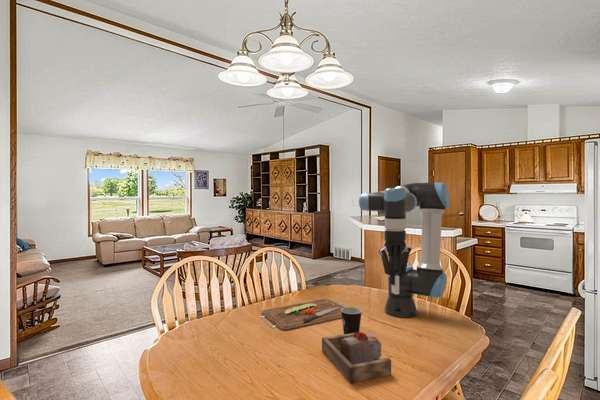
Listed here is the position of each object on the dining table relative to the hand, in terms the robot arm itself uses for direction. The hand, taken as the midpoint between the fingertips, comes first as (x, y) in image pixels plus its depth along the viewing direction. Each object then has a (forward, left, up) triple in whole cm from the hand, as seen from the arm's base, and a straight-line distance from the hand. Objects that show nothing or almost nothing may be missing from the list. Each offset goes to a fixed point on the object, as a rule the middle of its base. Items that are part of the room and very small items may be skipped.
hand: (395, 293), depth 125 cm
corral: (+17, +1, -23) cm, 29 cm away
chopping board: (+17, -49, -23) cm, 57 cm away
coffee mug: (+6, -22, -23) cm, 33 cm away
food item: (+15, 0, -23) cm, 27 cm away
